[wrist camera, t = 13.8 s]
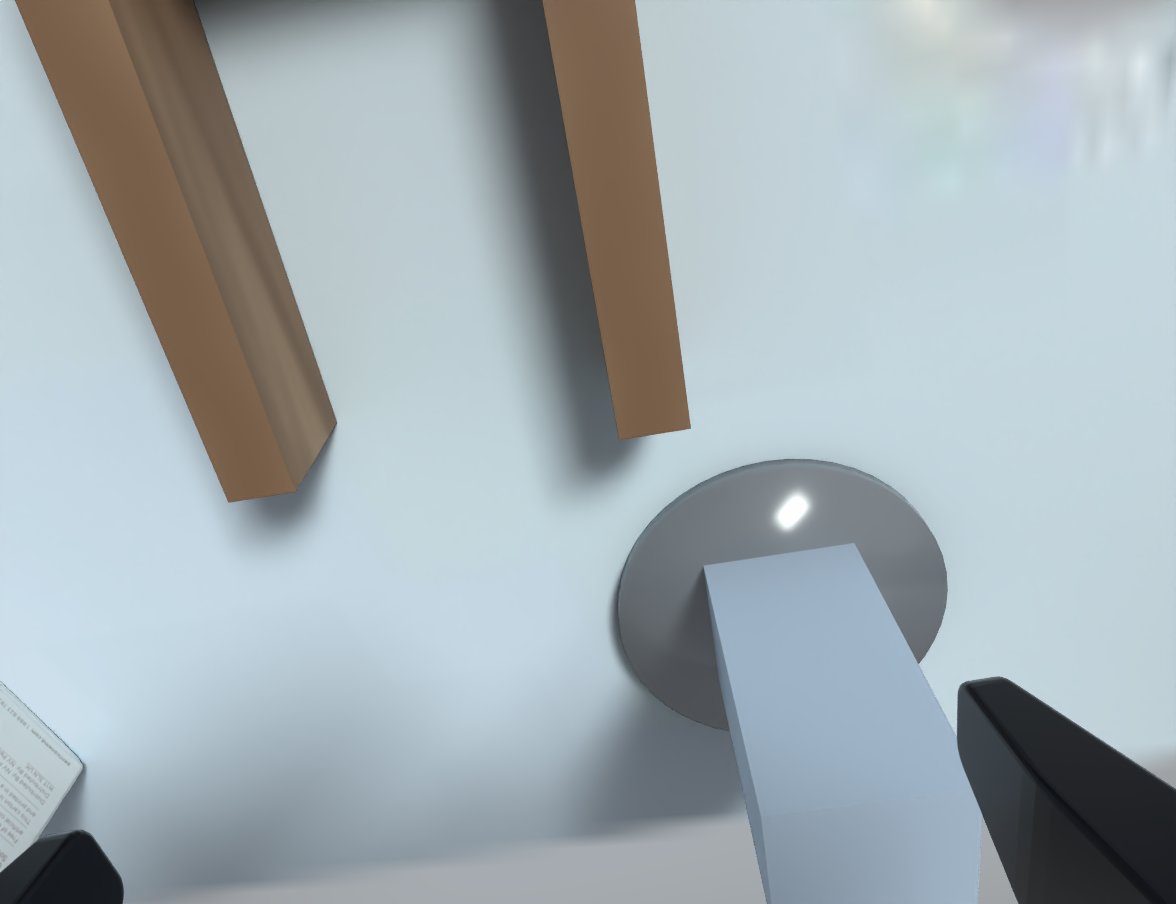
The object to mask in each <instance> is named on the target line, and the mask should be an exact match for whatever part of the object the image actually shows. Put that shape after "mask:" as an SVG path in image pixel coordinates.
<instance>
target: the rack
mask: <svg viewBox="0 0 1176 904" xmlns="http://www.w3.org/2000/svg"><path fill="white" fill-rule="evenodd" d="M542 1H543V6H544V12H545V18H546V24H547V29H548V35H549V41H550V47H551V52H552V58H553V64H554V69H555V75H556V81H557V87H558V92H559V98H560V104H561V110H562V115H563V121H564V127H565V132H566V138H567V144H568V150H569V155H570V161H571V167H572V173H573V178H574V184H575V190H576V195H577V201H578V207H579V213H580V218H581V224H582V230H583V236H584V241H585V247H586V253H587V258H588V264H589V270H590V276H591V281H592V287H593V293H594V299H595V304H596V310H597V316H598V321H599V327H600V333H601V339H602V344H603V350H604V356H605V362H606V367H607V373H608V379H609V384H610V390H611V396H612V402H613V407H614V413H615V419H616V425H617V430H618V436H619V440H623V439H629V438H635V437H641V436H648V435H654V434H660V433H666V432H673V431H679V430H685V429H691V426H690V419H689V411H688V403H687V396H686V388H685V380H684V373H683V365H682V357H681V350H680V342H679V334H678V327H677V319H676V311H675V304H674V296H673V288H672V281H671V273H670V265H669V258H668V250H667V243H666V235H665V227H664V220H663V212H662V204H661V197H660V189H659V181H658V174H657V166H656V158H655V151H654V143H653V135H652V128H651V120H650V112H649V105H648V97H647V90H646V82H645V74H644V67H643V59H642V51H641V44H640V36H639V28H638V21H637V13H636V5H635V0H542ZM15 2H16V4H17V6H18V9H19V11H20V13H21V16H22V18H23V20H24V23H25V25H26V27H27V30H28V32H29V35H30V37H31V39H32V42H33V44H34V46H35V49H36V51H37V53H38V56H39V58H40V60H41V63H42V65H43V67H44V70H45V72H46V74H47V77H48V79H49V82H50V84H51V86H52V89H53V91H54V93H55V96H56V98H57V100H58V103H59V105H60V107H61V110H62V112H63V114H64V117H65V119H66V122H67V124H68V126H69V129H70V131H71V133H72V136H73V138H74V140H75V143H76V145H77V147H78V150H79V152H80V154H81V157H82V159H83V161H84V164H85V166H86V169H87V171H88V173H89V176H90V178H91V180H92V183H93V185H94V187H95V190H96V192H97V194H98V197H99V199H100V201H101V204H102V206H103V208H104V211H105V213H106V216H107V218H108V220H109V223H110V225H111V227H112V230H113V232H114V234H115V237H116V239H117V241H118V244H119V246H120V248H121V251H122V253H123V256H124V258H125V260H126V263H127V265H128V267H129V270H130V272H131V274H132V277H133V279H134V281H135V284H136V286H137V288H138V291H139V293H140V295H141V298H142V300H143V303H144V305H145V307H146V310H147V312H148V314H149V317H150V319H151V321H152V324H153V326H154V328H155V331H156V333H157V335H158V338H159V340H160V343H161V345H162V347H163V350H164V352H165V354H166V357H167V359H168V361H169V364H170V366H171V368H172V371H173V373H174V375H175V378H176V380H177V382H178V385H179V387H180V390H181V392H182V394H183V397H184V399H185V401H186V404H187V406H188V408H189V411H190V413H191V415H192V418H193V420H194V422H195V425H196V427H197V429H198V432H199V434H200V437H201V439H202V441H203V444H204V446H205V448H206V451H207V453H208V455H209V458H210V460H211V462H212V465H213V467H214V469H215V472H216V474H217V477H218V479H219V481H220V484H221V486H222V488H223V491H224V493H225V495H226V498H227V500H228V502H235V501H241V500H248V499H254V498H260V497H266V496H273V495H279V494H285V493H291V492H296V490H297V489H298V487H299V485H300V484H301V482H302V480H303V479H304V477H305V475H306V474H307V472H308V470H309V469H310V467H311V465H312V464H313V462H314V460H315V459H316V457H317V455H318V454H319V452H320V450H321V449H322V447H323V445H324V444H325V442H326V440H327V438H328V437H329V435H330V433H331V432H332V430H333V428H334V427H335V425H336V423H337V421H336V418H335V415H334V412H333V409H332V406H331V403H330V400H329V397H328V394H327V391H326V388H325V386H324V383H323V380H322V377H321V374H320V371H319V368H318V365H317V362H316V359H315V356H314V353H313V350H312V347H311V344H310V342H309V339H308V336H307V333H306V330H305V327H304V324H303V321H302V318H301V315H300V312H299V309H298V306H297V303H296V300H295V297H294V295H293V292H292V289H291V286H290V283H289V280H288V277H287V274H286V271H285V268H284V265H283V262H282V259H281V256H280V253H279V250H278V248H277V245H276V242H275V239H274V236H273V233H272V230H271V227H270V224H269V221H268V218H267V215H266V212H265V209H264V206H263V204H262V201H261V198H260V195H259V192H258V189H257V186H256V183H255V180H254V177H253V174H252V171H251V168H250V165H249V162H248V159H247V157H246V154H245V151H244V148H243V145H242V142H241V139H240V136H239V133H238V130H237V127H236V124H235V121H234V118H233V115H232V112H231V110H230V107H229V104H228V101H227V98H226V95H225V92H224V89H223V86H222V83H221V80H220V77H219V74H218V71H217V68H216V66H215V63H214V60H213V57H212V54H211V51H210V48H209V45H208V42H207V39H206V36H205V33H204V30H203V27H202V24H201V21H200V19H199V16H198V13H197V10H196V7H195V4H194V1H193V0H15Z"/></svg>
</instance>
